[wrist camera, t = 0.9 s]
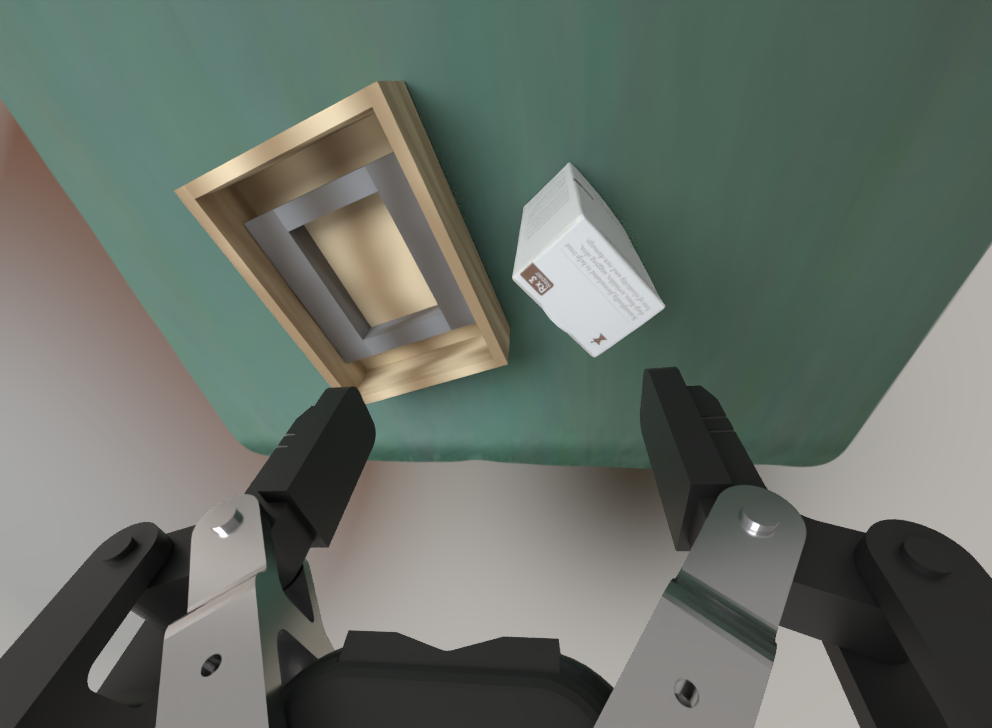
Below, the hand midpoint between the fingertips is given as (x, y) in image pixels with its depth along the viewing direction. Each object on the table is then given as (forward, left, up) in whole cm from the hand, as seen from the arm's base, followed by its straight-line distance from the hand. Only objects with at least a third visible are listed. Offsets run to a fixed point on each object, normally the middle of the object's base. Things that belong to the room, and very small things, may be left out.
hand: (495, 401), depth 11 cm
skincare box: (-3, +2, -20) cm, 20 cm away
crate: (+11, 0, -20) cm, 22 cm away
